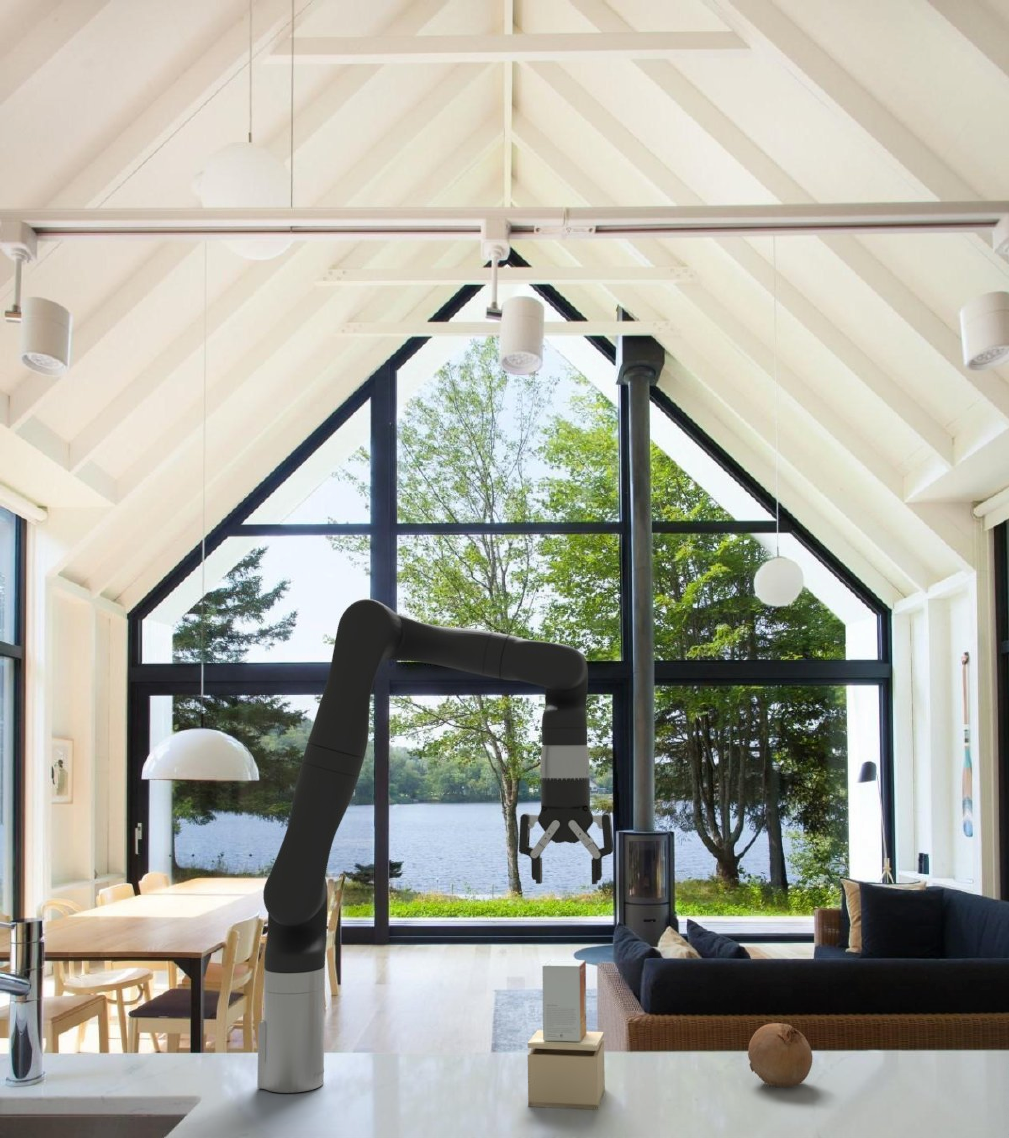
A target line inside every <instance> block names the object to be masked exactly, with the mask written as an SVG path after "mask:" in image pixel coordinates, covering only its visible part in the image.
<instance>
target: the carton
mask: <svg viewBox="0 0 1009 1138" xmlns="http://www.w3.org/2000/svg"><path fill="white" fill-rule="evenodd" d="M605 1072H606V1071H605V1039H603V1040H602V1042H601V1044H600V1046H599V1048H598V1050H597V1051H591V1050H565V1049H538V1048H530V1050H529V1052H528V1053H527V1100H528V1101H527V1106H528V1107H536V1108H537V1107H538V1108H558V1109H559V1108H560V1109H561V1108H562V1109H579V1110H580V1109H581V1110H584V1109H585V1110H599V1108H600V1105H601V1102H602V1099H603V1096H604V1093H605V1090H606V1086H605V1085H606V1079H605Z"/></svg>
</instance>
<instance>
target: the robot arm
mask: <svg viewBox="0 0 1009 1138" xmlns="http://www.w3.org/2000/svg"><path fill="white" fill-rule="evenodd" d="M382 661H387V662H389V661H391V662H392V661H395V662H397V661H399V662H400V661H401V662H415V663H424V664H431V665H437V666H442V667H446V668H450V669H454V670H459V671H463V672H468V673H470V674H474V675H479V676H486V677H490V678H494V679H502V680H505V681H520V682H523V683H524V682H525V683H528V684H533V685H536V686H541V687H544V702H545V705H544V706H545V707H544V710H543V713H542V716H541V717H542V718H541V745H542V746H541V755H540V768H539V773H540V774H539V775H540V812H539V814H530V813H523V814H522V815H520V819H519V821H520V822H519V840H518V852H519V853H520V854H521V855H526V856H528V857H529V858H530V860H531V861H530V862H531V869H530V870H531V878H532V881H534V880H535V884H537V885H541V884H542V883H543V857H541V855H542V852H543V851H544V850H545V849H546V848H547V846H548V845H549V844H550V842H551V841H552V842H554V843H555V844H562V843H565V842H566V843H569V844H577V843H579V842H581V844H582V846H583V847H584V848H585V849H586V850H587V851H588V852H589V854H590V855H591V856H592V858H591V860H590V861H591V862H590V864H591V885H597V884H599V881H601V879H602V877H603V863H602V861H603V858H604V857H607V856H609V855H611V854H612V853H613V852H614V838H613V825H612V816H611V814H610V813H605V814H596V815H595V814H594V815H593V813H592V810H591V787H590V786H591V782H590V781H591V780H590V778H591V777H590V757H589V748H588V721H587V711H586V710H587V699H588V687H589V686H588V685H589V683H588V682H589V669H588V663H587V661H586V658H585V656H584V655H583V654H582V652H580V651H579V650H578V649H577V648H574V647H572V646H571V645H568V644H567V645H566V644H564V643H563V644H562V643H559V642H558V643H557V642H549V641H543V640H542V641H541V640H533V639H525V638H522V637H519V636H516V635H515V636H514V635H511V634H506V633H502V632H501V633H500V632H494V631H489V630H484V629H476V628H475V629H474V628H465V627H463V628H462V627H450V626H449V627H448V626H447V627H446V626H441V625H434V624H428V623H426V622H421V621H418V620H415V619H413V618H410V617H407V616H404V615H401V614H400V613H397V612H395V611H394V610H393V609H392V608H390V607H388V606H387V605H385V604H384V603H382V602H380V601H378V600H375V599H372V598H371V599H370V598H363V599H359V600H356V601H355V602H353V603H351V604H350V605H349V606H348V607H347V608H346V609H345V610H344V611H343V613H342V614H341V616H340V619H339V622H338V625H337V630H336V634H335V641H334V647H333V651H332V658H331V663H330V667H329V672H328V678H327V681H326V684H325V686H324V687H325V688H324V690H323V693H322V695H321V696H322V697H321V698H320V702H319V705H318V709H317V711H316V715H315V718H314V721H313V725H312V728H311V731H310V734H309V737H308V740H307V744H306V747H305V750H304V754H303V756H302V760H301V763H300V764H301V765H300V768H299V772H298V777H297V780H296V785H295V788H294V794H293V799H292V804H291V810H290V815H289V820H288V825H287V828H286V831H285V835H284V838H283V840H282V841H281V842H282V843H281V845H280V849H279V850H278V853H277V856H276V857H275V861H274V863H273V865H272V868H271V870H270V872H269V875H268V878H267V879H266V881H265V884H264V887H263V892H262V893H263V895H262V896H263V903H264V907H265V909H266V912H267V935H266V944H265V951H264V959H263V960H264V969H263V971H264V972H263V973H264V974H263V975H264V976H263V978H264V979H263V1019H262V1020H260V1022H258V1028H257V1029H258V1030H257V1032H258V1034H257V1035H258V1037H257V1082H256V1083H257V1085H256V1087H257V1089H262V1090H266V1091H269V1092H271V1093H272V1092H274V1093H280V1094H281V1093H282V1094H283V1093H284V1094H286V1093H287V1094H289V1093H292V1094H293V1093H301V1092H308V1091H312V1090H314V1089H318V1088H320V1087H322V1086H323V1084H324V1076H325V1075H324V1074H325V1012H326V1010H325V1006H326V1005H325V1003H326V1002H325V1001H326V999H325V998H326V996H325V992H326V990H325V988H326V985H325V984H326V952H327V951H326V950H327V942H328V941H327V939H328V937H327V935H328V932H327V931H328V896H329V894H328V883H327V879H326V874H327V868H328V863H329V859H330V854H331V851H332V845H333V842H334V840H335V837H336V834H337V831H338V829H339V827H340V825H341V823H342V820H343V818H344V816H345V814H346V811H347V810H348V807H349V805H350V802H351V800H352V797H353V795H354V792H355V789H356V786H357V783H358V781H359V776H360V774H361V770H362V766H363V764H364V760H365V756H366V753H367V748H368V741H369V733H370V732H369V731H370V707H371V706H370V705H371V696H372V695H371V694H372V689H373V686H374V683H375V679H376V677H377V673H378V671H379V668H380V665H381V662H382ZM536 823H538V825H540V827H541V828H542V830H543V831H544V833H543V835H542V836H541V837H540V838H539V840H538V841H537V843H536V845H535V846H534V847H532V846H530V836H531V835H530V834H531V829H533V828H535V825H536ZM594 823H595V824H596V825H597V828H598V829H599V830H602V840H603V847H601V848H600V847H599V846H598V845H597V843H596V842H595V840H594V839H593V837H592V836H591V835H590V833H589V832H588V831H589V830H590V828H591V827H592V825H593V824H594Z"/></svg>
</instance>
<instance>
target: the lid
mask: <svg viewBox="0 0 1009 1138" xmlns="http://www.w3.org/2000/svg"><path fill="white" fill-rule="evenodd" d="M604 1035H605V1032H604V1031H588V1030H586V1034H585V1035H584V1036H583V1038H582V1039H581V1041H580V1042H579V1041H544V1040H543V1029H537V1031H535V1033H534V1034H533V1036H532V1037H531V1038H530V1039H529V1040H528V1042H527V1049H531V1048H538V1049H565V1050H591V1051H597V1050H598V1048H599V1046H600V1044H601V1042H602V1040H604V1038H605V1036H604Z"/></svg>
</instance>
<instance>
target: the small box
mask: <svg viewBox="0 0 1009 1138" xmlns="http://www.w3.org/2000/svg"><path fill="white" fill-rule="evenodd" d="M586 962H587V961H586V960H583V959H550V960H549V961H548V962H547V963H545V964H544V965H542V1030H543V1040H544V1041H579V1042H580V1041H581V1039H582V1038H583V1036H584V1035H585V1034H586V1031H587V969H586V968H587V966H586Z"/></svg>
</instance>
